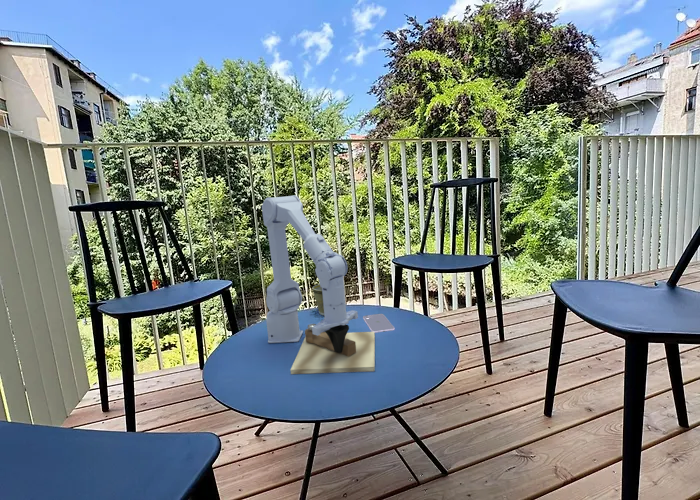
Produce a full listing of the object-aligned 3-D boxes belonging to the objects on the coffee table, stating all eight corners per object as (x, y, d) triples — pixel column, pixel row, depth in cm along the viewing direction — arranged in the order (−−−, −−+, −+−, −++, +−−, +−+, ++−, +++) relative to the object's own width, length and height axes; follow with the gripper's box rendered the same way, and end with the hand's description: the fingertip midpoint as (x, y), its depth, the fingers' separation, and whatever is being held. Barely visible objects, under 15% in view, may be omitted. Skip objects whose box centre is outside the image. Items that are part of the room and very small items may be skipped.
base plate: (290, 374, 93) (290, 369, 93) (306, 338, 115) (306, 334, 114) (374, 371, 91) (374, 366, 91) (374, 335, 113) (374, 331, 113)
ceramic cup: (316, 308, 141) (314, 283, 140) (342, 307, 141) (340, 281, 139) (312, 321, 129) (309, 293, 127) (340, 319, 128) (338, 291, 126)
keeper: (307, 343, 107) (306, 328, 106) (311, 335, 113) (310, 320, 113) (341, 342, 107) (340, 326, 106) (343, 333, 113) (342, 318, 112)
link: (302, 340, 109) (301, 331, 109) (314, 335, 112) (313, 326, 112) (346, 357, 96) (345, 346, 96) (357, 351, 99) (357, 340, 99)
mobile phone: (372, 331, 114) (362, 315, 129) (372, 334, 115) (362, 318, 129) (395, 328, 116) (383, 312, 130) (396, 331, 116) (383, 315, 130)
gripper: (323, 313, 88) (328, 366, 90) (364, 297, 98) (368, 345, 100) (304, 308, 93) (309, 358, 95) (345, 293, 103) (349, 339, 105)
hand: (338, 351), depth 98 cm, fingers closed
